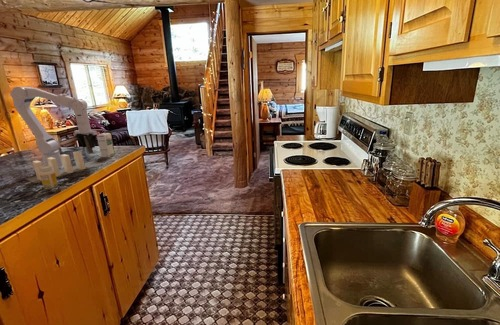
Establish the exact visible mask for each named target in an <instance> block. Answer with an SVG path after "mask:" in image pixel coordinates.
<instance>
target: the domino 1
mask: <svg viewBox="0 0 500 325" xmlns="http://www.w3.org/2000/svg"><path fill="white" fill-rule="evenodd" d="M31 163H32V166H33V168H34V171H35V176H37V179H38V180H41V177H40V173H41V172H42V171H41V170H40V168H41V167H43V166H44V164H43V161H40V160H37V159H36V160H33V161H32V162H31Z"/></svg>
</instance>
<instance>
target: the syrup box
mask: <svg viewBox="0 0 500 325" xmlns="http://www.w3.org/2000/svg"><path fill="white" fill-rule="evenodd" d="M96 140H97V142H98V143H97V145H98V147H99V151H100V157H101V158H111V157H112V156H115V155H116V151H115V147H114V142H113V137H112V134H111V133H110V132H103V133H99V134H97V137H96Z"/></svg>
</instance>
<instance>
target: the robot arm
mask: <svg viewBox="0 0 500 325" xmlns="http://www.w3.org/2000/svg"><path fill="white" fill-rule="evenodd" d="M9 95H10V97H11V98H12V101H13V106H14V109H15V110H16V111H17V113H18V114H19V115H20V117H21V118H22V120H23V121H24V123H25V124H26V125H27V127H28V128H29V129H30V131H31V132H32V134H33V135H34V136H35V138H36V141H35V144H36V146H37V149H38V151H39V153H41V154H42V156H41V159H42V164H43V166H49V164H48V161H47V158H50V157H53V158H56V161H57V164H58V168H59V169H64V167H63V164H62V160H61V156H60V155H61V153H60V150H59V149H60V147H61V143H60V141H59V140H57V139H56V138H55V137H54V136H53V135H51V134H49V133H48V132H47V130H46V129H45V128H44V126H43V124H42V123H41V121H40V120H39V119H38V118H37V116H36V115H35V113H34V111H33V110H32V109H31V107H30V106H31V103H32V102H33V101H34V100H35V99H36V98H41V99H45V100H49V101H52V102H54V103H56V104H57V105H58V106H60V107H64V108H67V109H71V110H72V111H73V112H74V117H75V120H76V125H77V128H78V129H76V130H74V131H73V132H74V135H75V138H76V139H77V140H78V142H80V145H81V146H82V147H83V148H86V145H85V140H84V136H85V137H86V138H87V140H88V142H89V145H90V147H91V148H92V149H94V148H95V146H96V140H97V135H98V133H97V132H98V131H97V130H93V129H92V128H91V123H90V118H89V114H88V111H87V109H88V103H87V102H86V100H84V99H81V98H80V99H77V97H71V96H69V95H67V93H60V94H58V95H57V94H54V93H51V92H50V91H49V92H48V91H46V90H44V89H43V90H42V89H40V88H38V87H32V86H15V87H12V89H11V91H10V94H9Z"/></svg>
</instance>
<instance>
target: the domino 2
mask: <svg viewBox="0 0 500 325" xmlns="http://www.w3.org/2000/svg"><path fill="white" fill-rule="evenodd" d="M47 161H48V164H49V166H51V167H52V169H51V170H53V171H54V172H55V175H56V178H58V177H57V176H59V177H62V176H61V175H60V172H59V170H60V168H58V164H57V161H56V158H53V157H50V158H47Z"/></svg>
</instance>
